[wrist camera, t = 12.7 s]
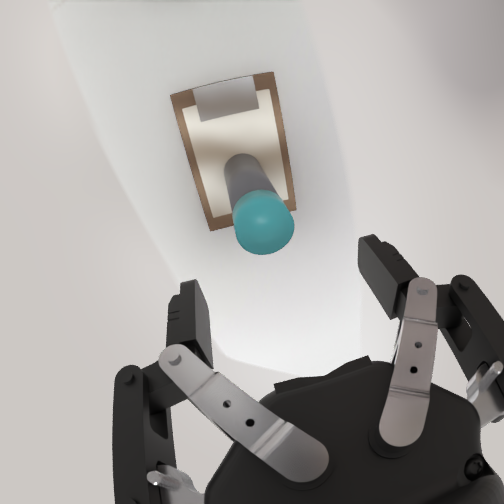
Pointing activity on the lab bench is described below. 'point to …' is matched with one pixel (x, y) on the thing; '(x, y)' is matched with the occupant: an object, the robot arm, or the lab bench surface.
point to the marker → (256, 207)
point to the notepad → (233, 138)
